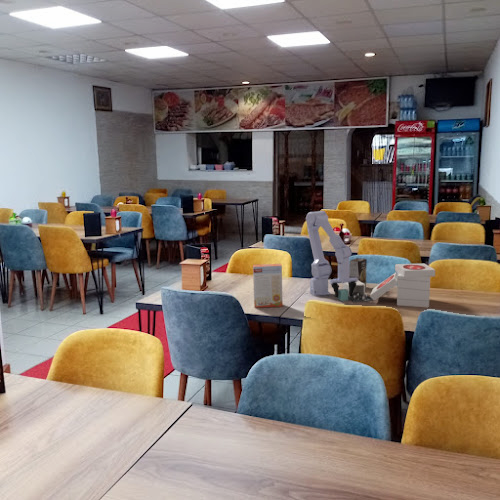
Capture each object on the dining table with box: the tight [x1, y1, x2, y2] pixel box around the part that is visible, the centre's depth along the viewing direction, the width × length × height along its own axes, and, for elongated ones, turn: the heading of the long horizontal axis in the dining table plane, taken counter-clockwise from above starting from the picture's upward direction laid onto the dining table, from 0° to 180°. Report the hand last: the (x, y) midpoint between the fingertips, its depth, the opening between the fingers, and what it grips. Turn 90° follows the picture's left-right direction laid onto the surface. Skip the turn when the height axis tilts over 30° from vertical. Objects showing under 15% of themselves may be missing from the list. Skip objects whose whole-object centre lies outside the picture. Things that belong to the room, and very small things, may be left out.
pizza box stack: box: [369, 263, 436, 308], centre depth 258 cm, size 19×30×18 cm, turn 70°
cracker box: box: [252, 263, 284, 309], centre depth 256 cm, size 14×6×21 cm, turn 92°
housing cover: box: [342, 281, 366, 297], centre depth 273 cm, size 9×8×6 cm
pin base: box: [348, 292, 374, 303], centre depth 270 cm, size 10×17×2 cm, turn 12°
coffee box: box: [349, 257, 368, 288], centre depth 286 cm, size 9×6×16 cm
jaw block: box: [337, 288, 349, 302], centre depth 266 cm, size 4×4×5 cm
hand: (343, 296), depth 266 cm, fingers open, 7 cm apart
